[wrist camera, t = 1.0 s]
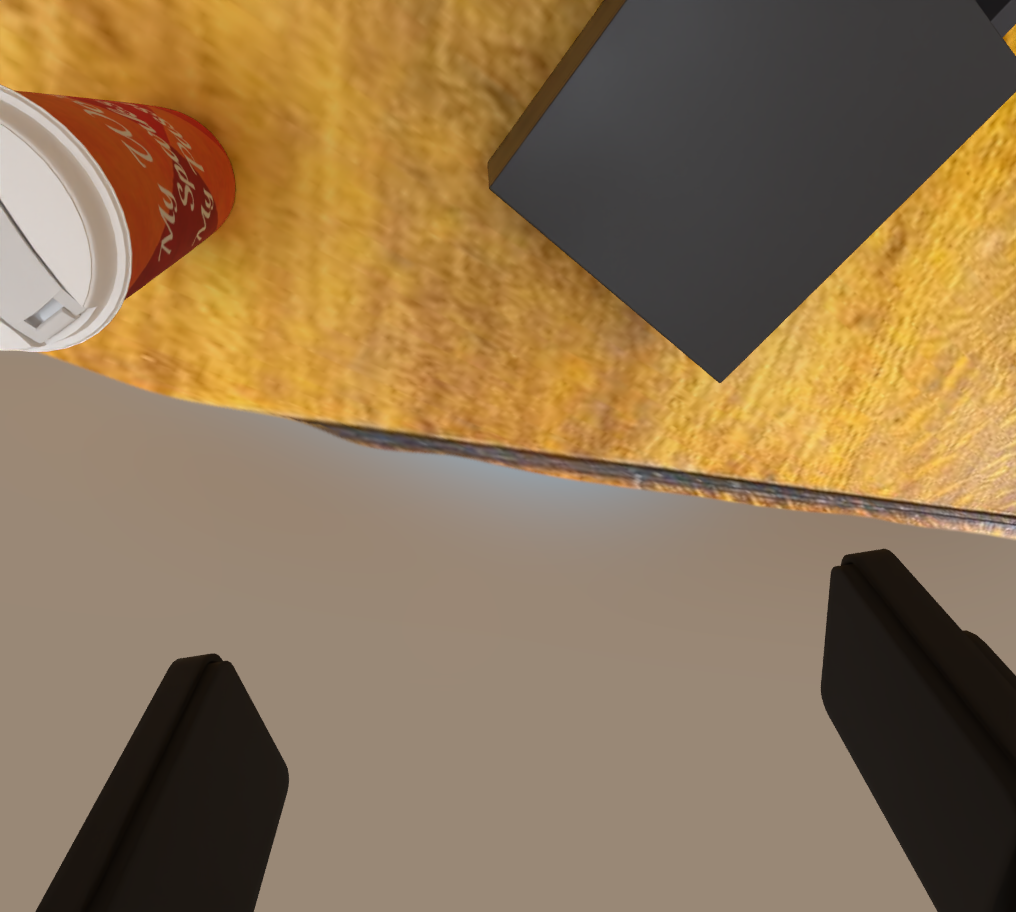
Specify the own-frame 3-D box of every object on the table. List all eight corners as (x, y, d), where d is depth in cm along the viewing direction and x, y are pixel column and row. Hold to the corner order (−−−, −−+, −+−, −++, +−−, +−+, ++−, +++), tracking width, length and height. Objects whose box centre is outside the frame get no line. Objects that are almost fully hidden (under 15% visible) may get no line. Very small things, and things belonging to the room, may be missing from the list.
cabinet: (702, -139, 27) (803, -244, 19) (883, 81, 31) (1031, 76, 23) (486, 163, 32) (488, 188, 24) (665, 316, 36) (720, 384, 28)
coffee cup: (294, 203, 33) (169, 276, 20) (176, 291, 35) (-10, 411, 22) (168, 35, 29) (-87, -12, 16) (44, 144, 31) (-275, 181, 18)
